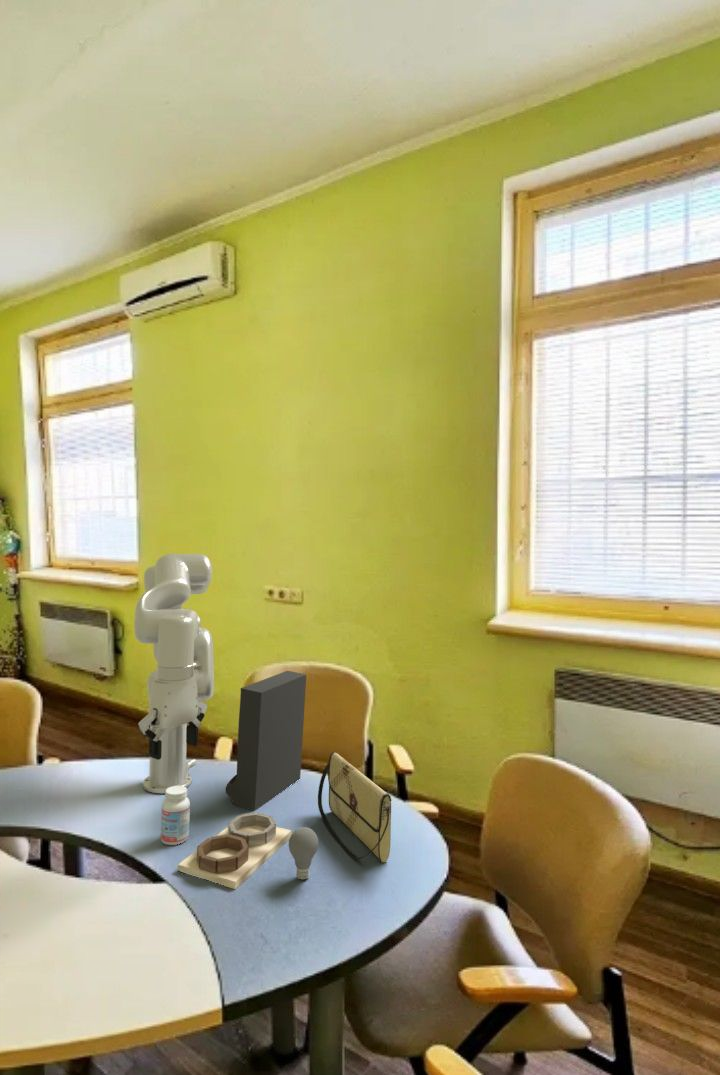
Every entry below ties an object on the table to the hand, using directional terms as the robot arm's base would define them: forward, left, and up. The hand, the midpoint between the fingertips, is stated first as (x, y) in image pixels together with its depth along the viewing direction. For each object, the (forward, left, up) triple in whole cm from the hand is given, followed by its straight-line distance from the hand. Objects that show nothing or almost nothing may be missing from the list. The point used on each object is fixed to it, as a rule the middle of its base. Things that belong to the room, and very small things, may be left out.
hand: (174, 751), depth 132 cm
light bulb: (-3, +30, -22) cm, 38 cm away
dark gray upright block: (-34, +2, -22) cm, 41 cm away
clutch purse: (-21, +33, -22) cm, 45 cm away
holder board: (-5, +13, -22) cm, 26 cm away
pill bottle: (-4, -3, -22) cm, 23 cm away
